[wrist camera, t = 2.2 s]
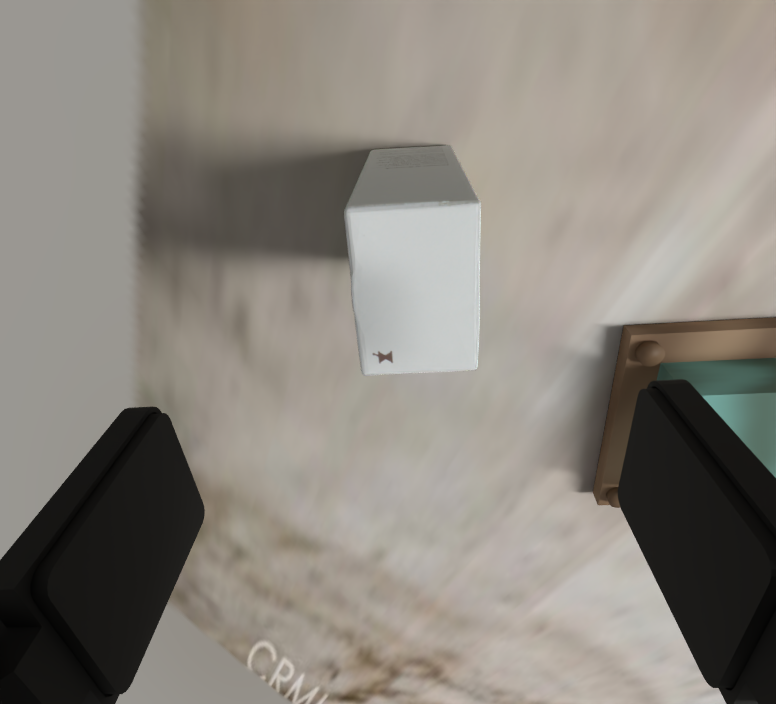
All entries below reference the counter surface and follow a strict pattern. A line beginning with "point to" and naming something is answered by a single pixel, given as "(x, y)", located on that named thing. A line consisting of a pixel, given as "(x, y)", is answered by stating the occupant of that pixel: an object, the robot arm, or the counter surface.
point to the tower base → (644, 369)
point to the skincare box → (415, 262)
